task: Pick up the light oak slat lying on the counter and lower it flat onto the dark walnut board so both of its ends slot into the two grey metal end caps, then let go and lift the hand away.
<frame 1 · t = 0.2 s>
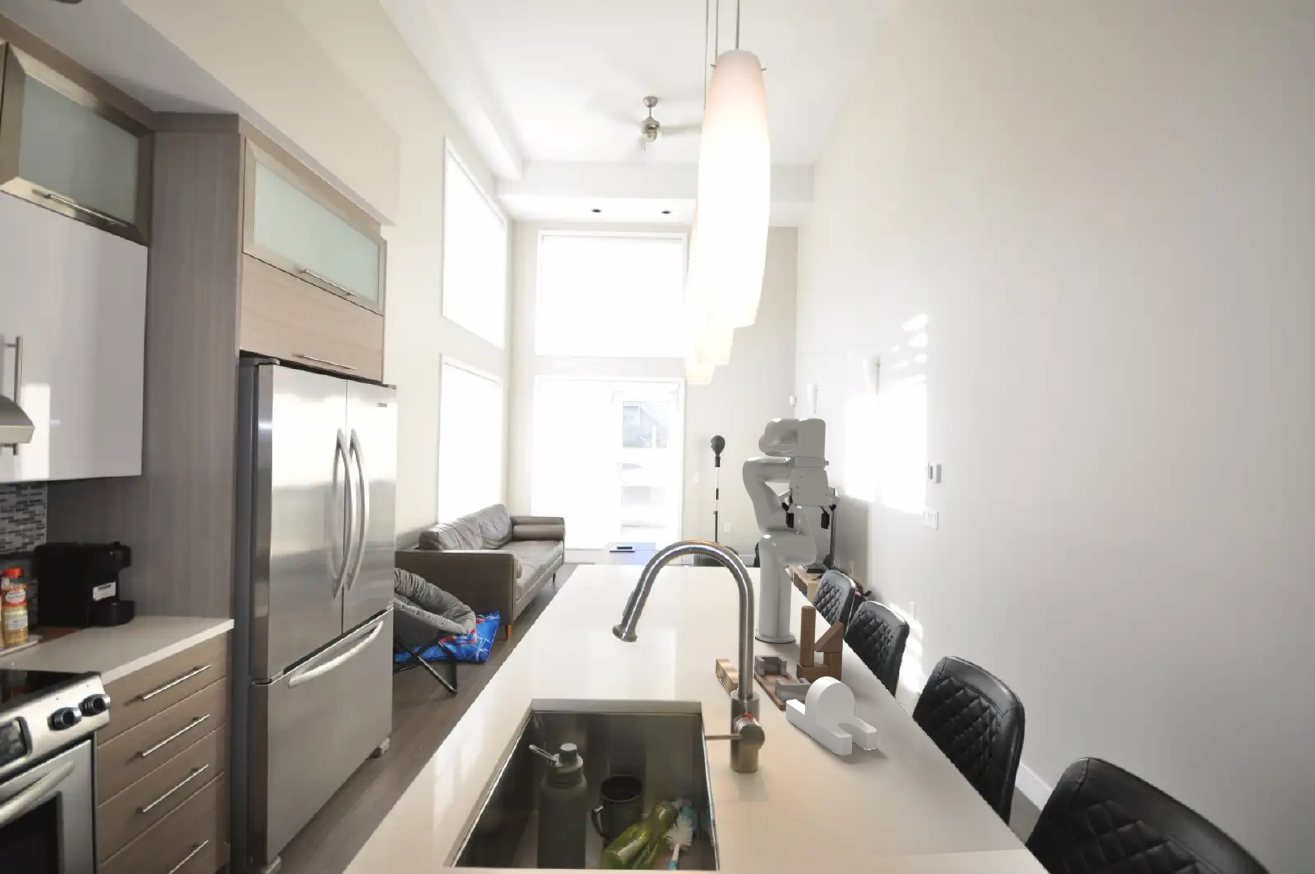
hand: (807, 528, 167), 36 cm above the kitchen island, tool pointing down, fingers open, 9 cm apart
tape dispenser: (828, 734, 126), on the kitchen island
wooden block: (818, 679, 156), on the kitchen island
oak slat: (729, 686, 149), on the kitchen island
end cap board: (780, 688, 149), on the kitchen island
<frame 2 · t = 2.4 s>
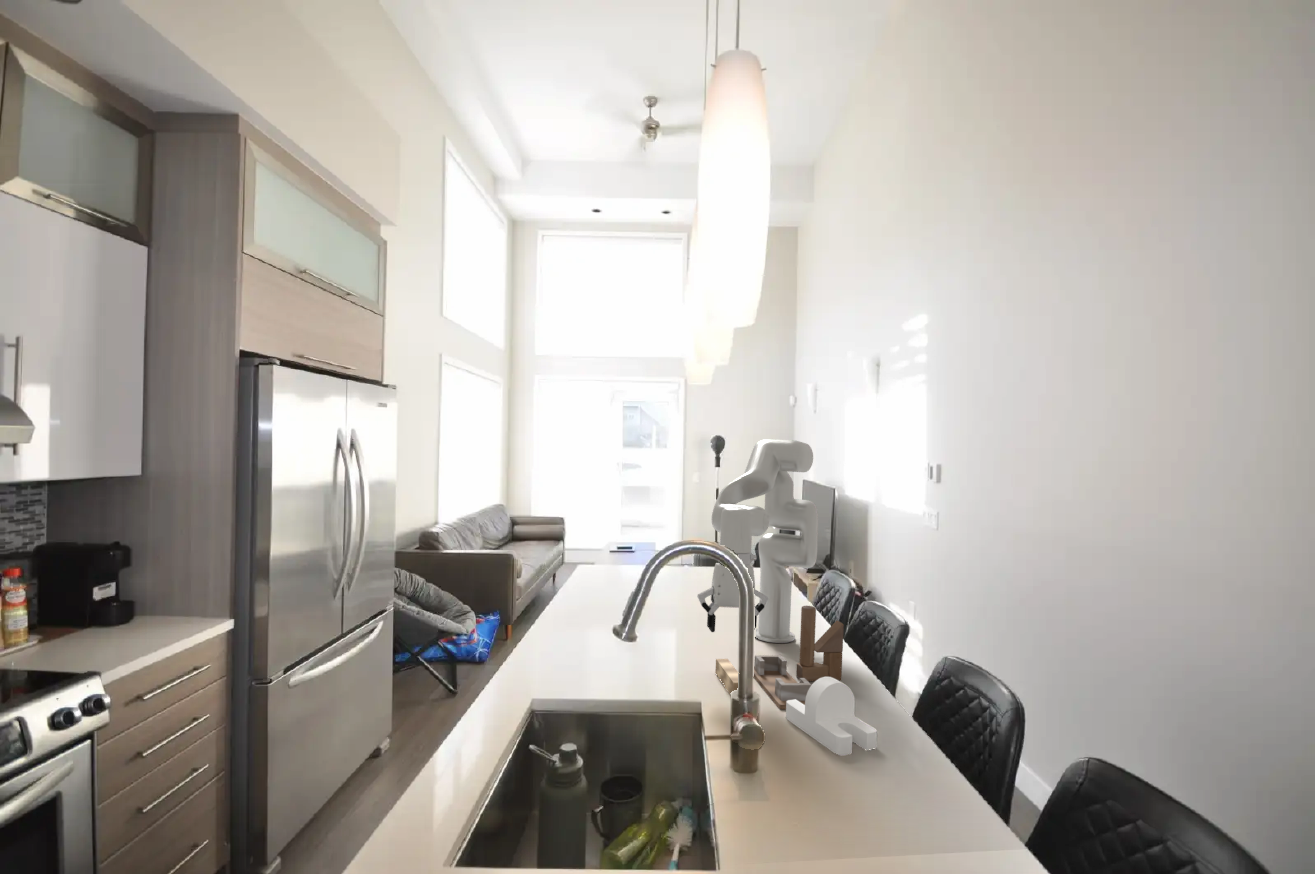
hand: (731, 630, 149), 13 cm above the kitchen island, tool pointing down, fingers open, 9 cm apart
nothing on the kitchen island moved.
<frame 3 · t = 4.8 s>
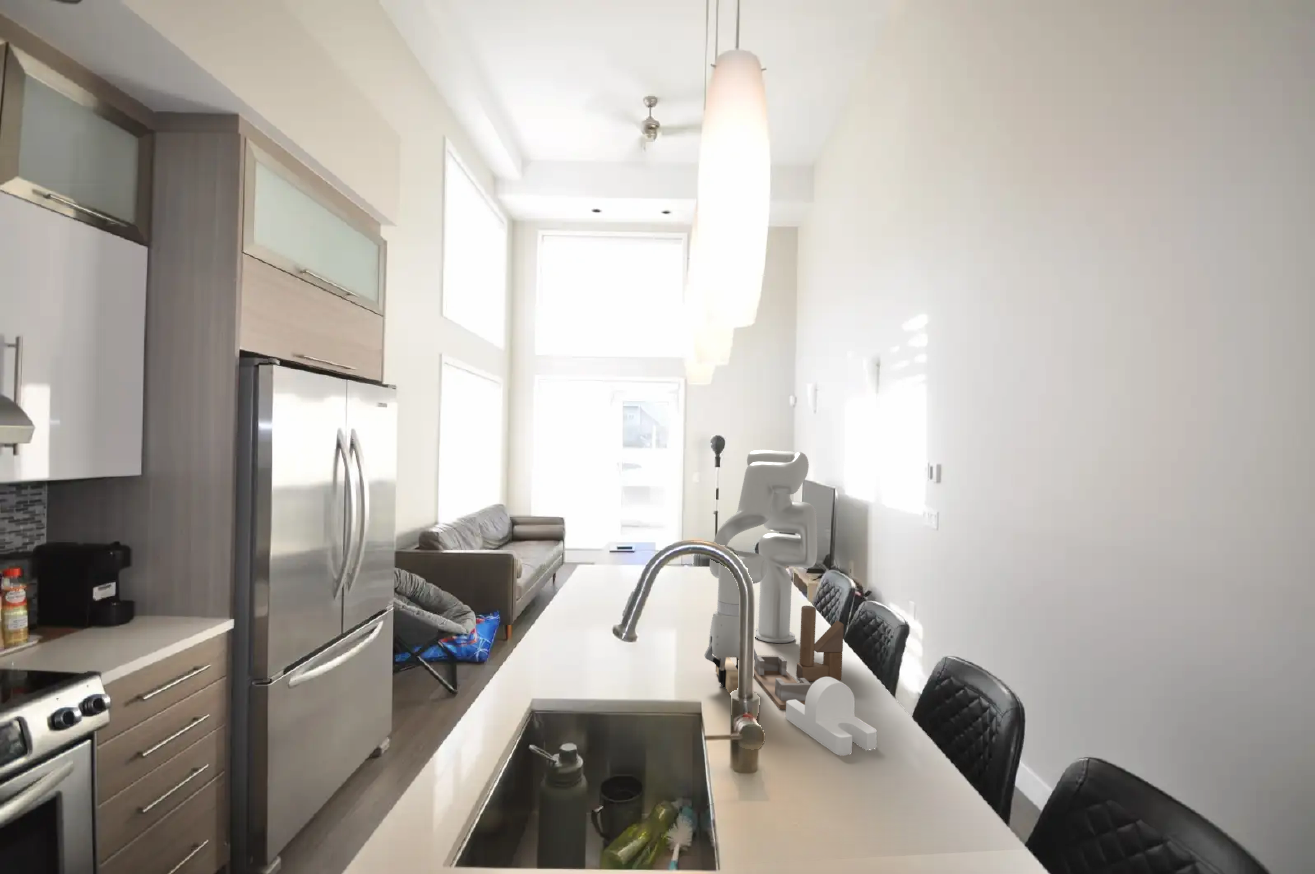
hand: (729, 684, 149), 0 cm above the kitchen island, tool pointing down, fingers closed on oak slat, 2 cm apart
oak slat: (729, 684, 149), on the kitchen island, touching gripper
everything else where it was.
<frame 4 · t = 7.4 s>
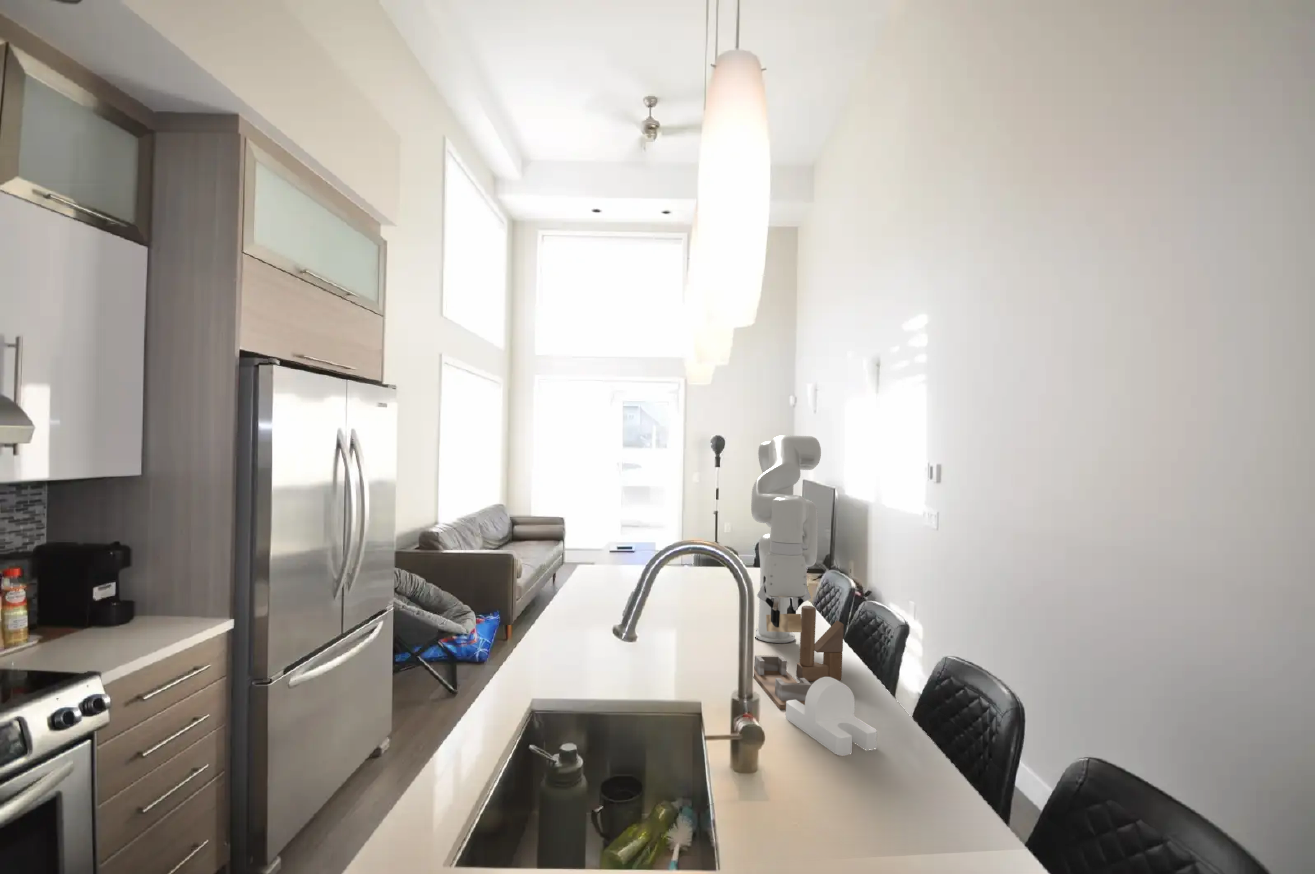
hand: (782, 625, 149), 15 cm above the kitchen island, tool pointing down, fingers closed on oak slat, 3 cm apart
oak slat: (783, 631, 149), point 14 cm above the kitchen island, tilted 16°, touching gripper
everything else where it was.
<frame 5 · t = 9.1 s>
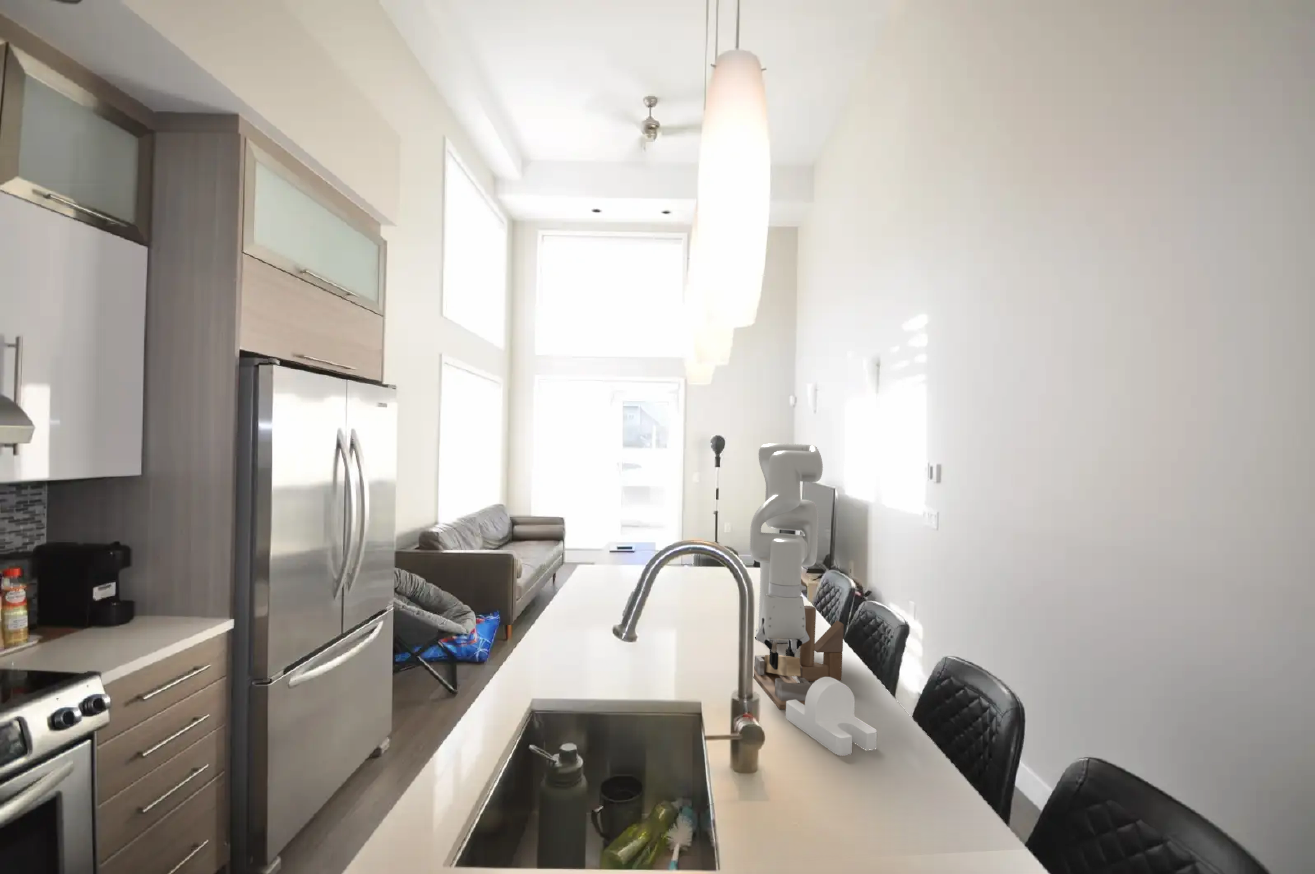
hand: (781, 667, 149), 5 cm above the kitchen island, tool pointing down, fingers closed on oak slat, 3 cm apart
oak slat: (782, 673, 148), point 4 cm above the kitchen island, tilted 16°, touching gripper
everything else where it was.
when the fingers open (4 cm above the kitchen island, at t = 10.3 s): oak slat drops 1 cm, resting on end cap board.
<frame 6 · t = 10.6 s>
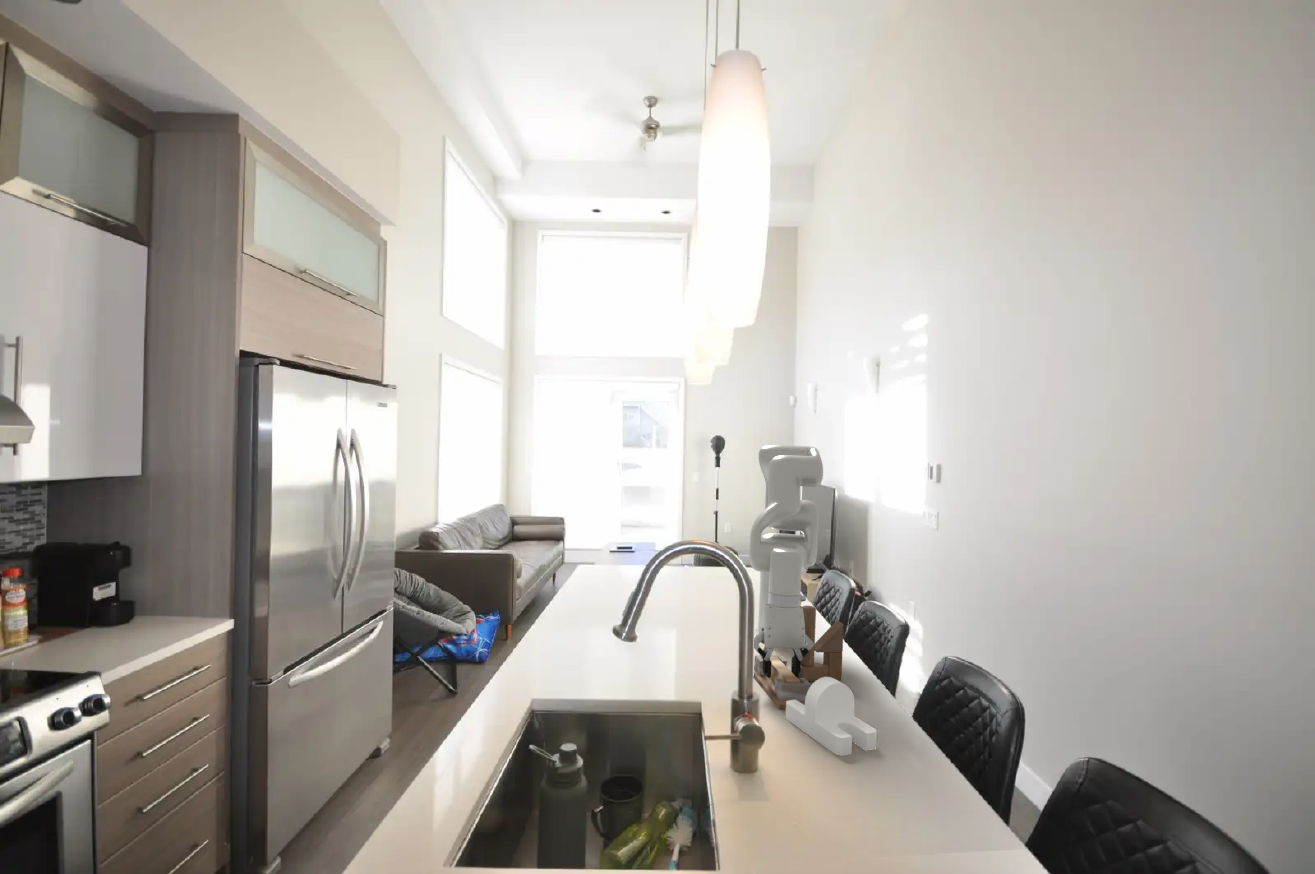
hand: (781, 675, 149), 3 cm above the kitchen island, tool pointing down, fingers open, 6 cm apart
oak slat: (780, 685, 148), point 1 cm above the kitchen island, touching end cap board
everything else where it was.
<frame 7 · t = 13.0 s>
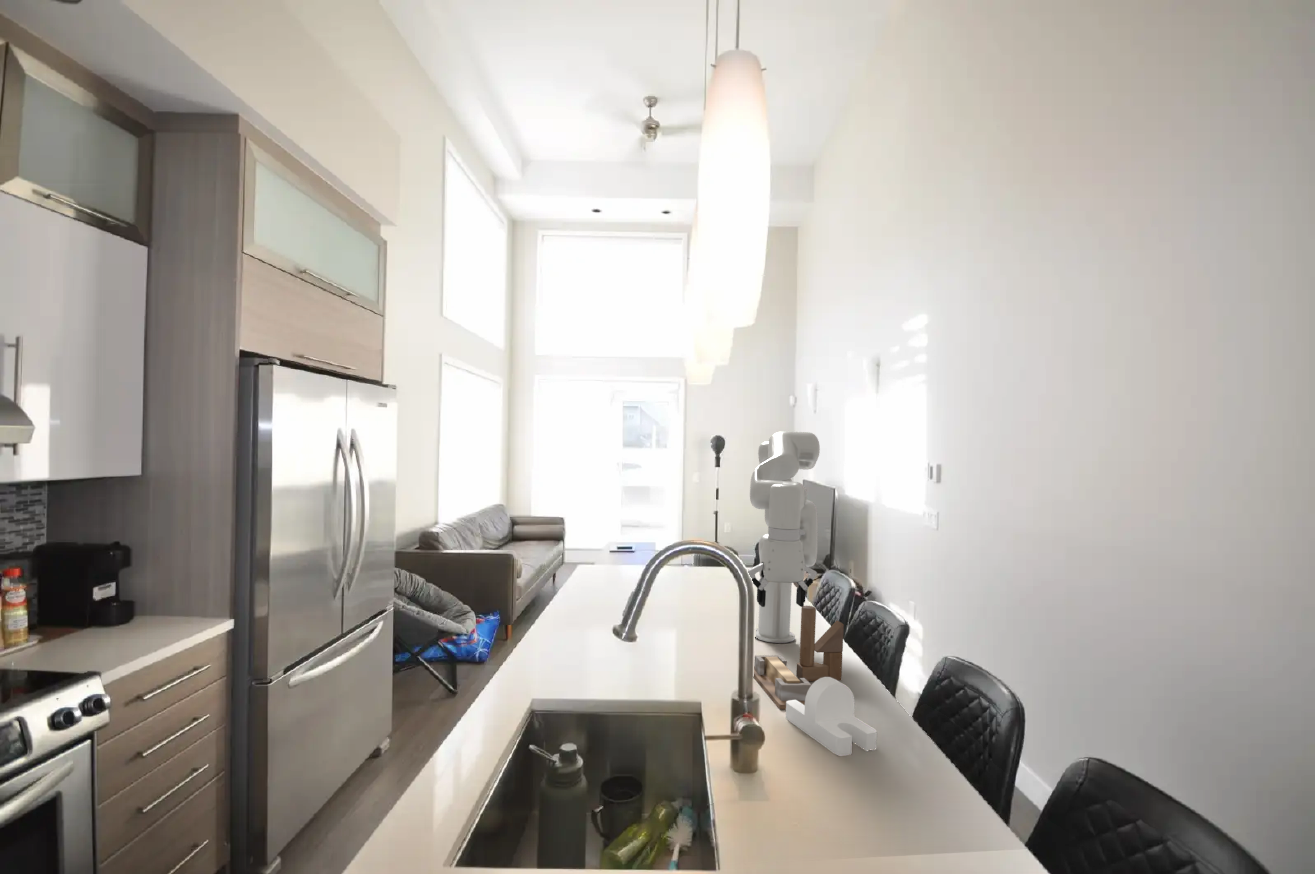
hand: (780, 605, 151), 19 cm above the kitchen island, tool pointing down, fingers open, 9 cm apart
nothing on the kitchen island moved.
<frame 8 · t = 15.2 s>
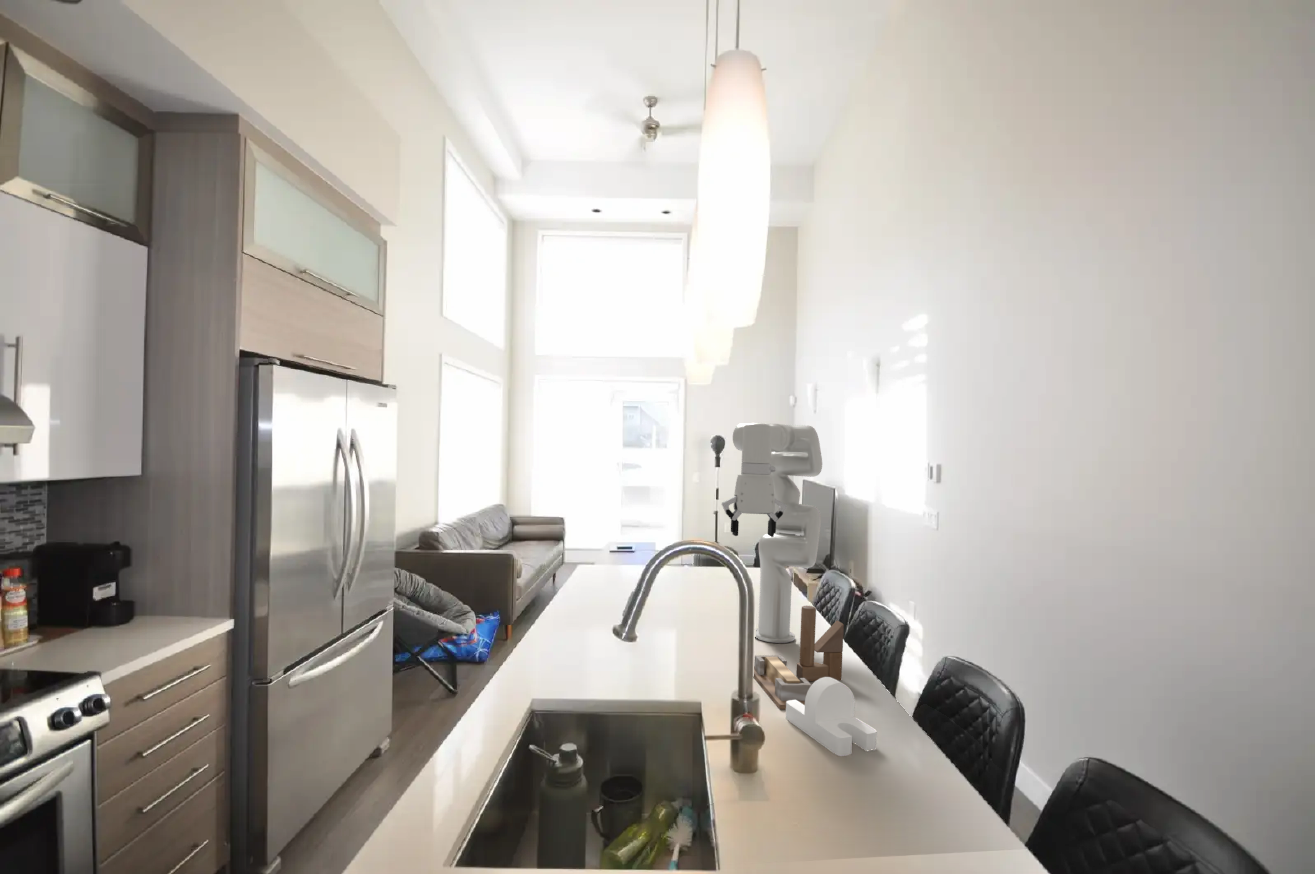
hand: (753, 535, 163), 34 cm above the kitchen island, tool pointing down, fingers open, 9 cm apart
nothing on the kitchen island moved.
at the end: oak slat 0.7 cm off-centre on the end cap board, point 1.0 cm above the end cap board's base; oak slat tilted 0°; the gripper is holding nothing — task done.
